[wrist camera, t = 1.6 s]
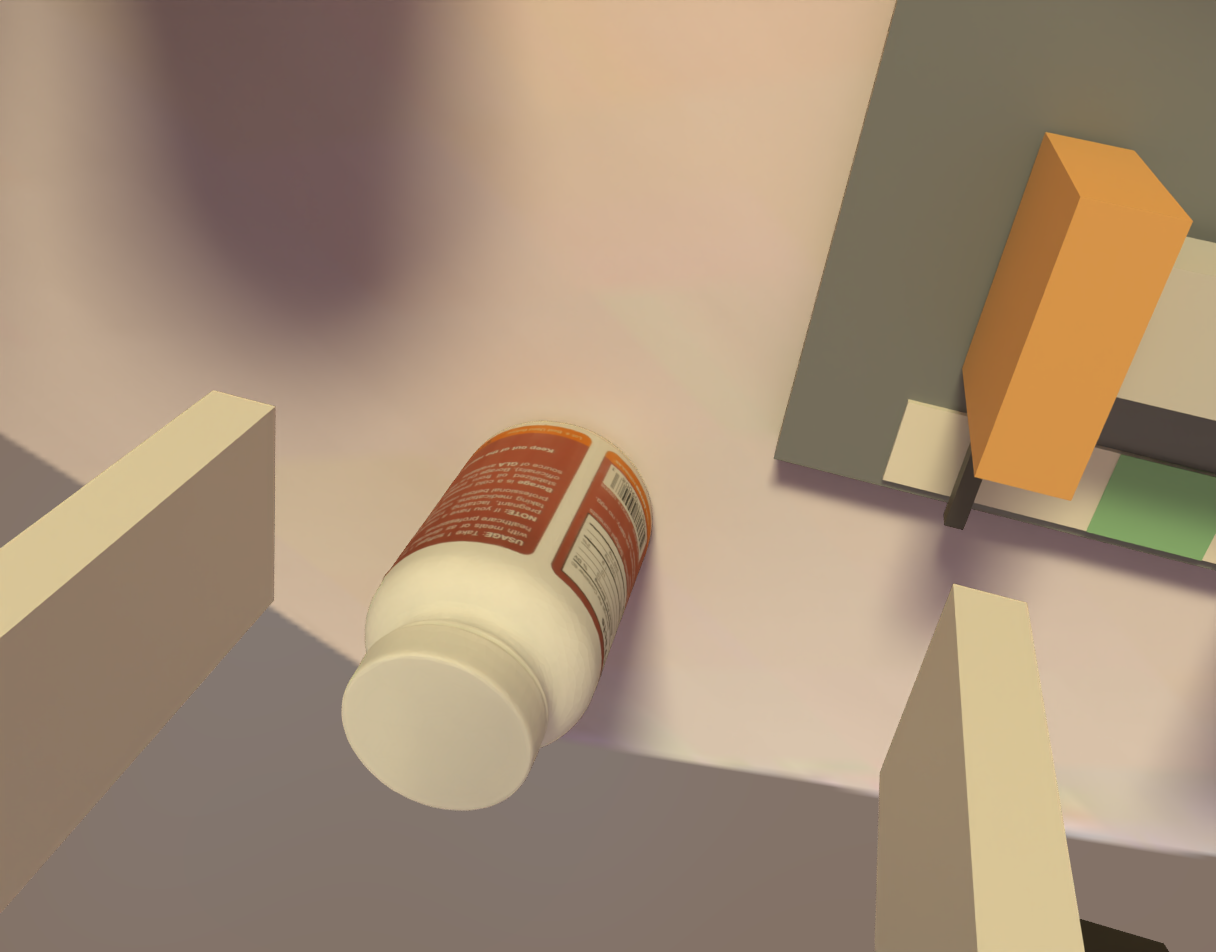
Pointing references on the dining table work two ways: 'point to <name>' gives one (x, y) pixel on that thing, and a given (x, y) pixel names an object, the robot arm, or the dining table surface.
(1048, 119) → the board
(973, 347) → the plunger
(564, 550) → the pill bottle
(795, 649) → the dining table surface
